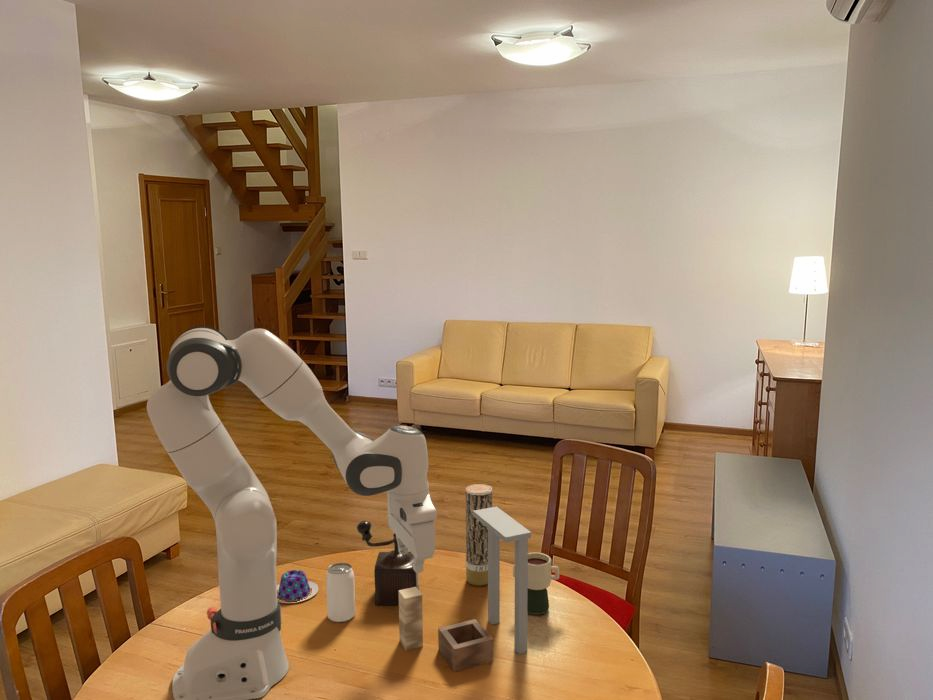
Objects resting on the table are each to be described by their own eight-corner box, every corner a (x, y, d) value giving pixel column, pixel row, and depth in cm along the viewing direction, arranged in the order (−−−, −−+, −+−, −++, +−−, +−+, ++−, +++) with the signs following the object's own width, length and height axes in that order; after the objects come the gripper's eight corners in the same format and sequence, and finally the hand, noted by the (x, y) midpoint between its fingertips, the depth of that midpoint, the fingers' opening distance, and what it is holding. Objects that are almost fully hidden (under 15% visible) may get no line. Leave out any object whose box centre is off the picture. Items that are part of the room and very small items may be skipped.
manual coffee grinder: (419, 583, 181) (418, 517, 178) (417, 605, 170) (415, 535, 167) (359, 584, 181) (357, 518, 178) (353, 606, 170) (350, 536, 167)
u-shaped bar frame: (505, 659, 148) (505, 537, 144) (473, 622, 162) (472, 510, 158) (530, 652, 150) (531, 532, 146) (496, 617, 164) (496, 506, 160)
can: (349, 624, 162) (347, 575, 160) (323, 621, 163) (321, 573, 161) (359, 610, 168) (357, 563, 166) (333, 607, 169) (332, 560, 167)
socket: (454, 671, 144) (454, 649, 143) (438, 649, 151) (438, 628, 151) (493, 661, 147) (493, 639, 146) (475, 639, 155) (475, 618, 154)
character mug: (558, 603, 171) (558, 552, 169) (559, 618, 164) (560, 566, 162) (513, 601, 172) (513, 551, 170) (512, 616, 165) (513, 564, 163)
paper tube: (460, 580, 183) (460, 488, 179) (479, 572, 187) (479, 482, 183) (478, 589, 178) (478, 495, 174) (497, 580, 182) (497, 488, 178)
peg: (405, 650, 151) (404, 598, 149) (399, 641, 155) (398, 590, 153) (422, 646, 153) (422, 594, 151) (416, 637, 156) (415, 586, 155)
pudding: (278, 582, 183) (277, 563, 182) (323, 582, 182) (322, 563, 182) (263, 605, 171) (261, 585, 170) (311, 606, 171) (310, 586, 170)
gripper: (379, 487, 157) (382, 546, 159) (410, 520, 138) (412, 585, 141) (406, 483, 159) (408, 540, 162) (440, 514, 141) (441, 578, 143)
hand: (410, 562), depth 151 cm, fingers open, 8 cm apart
